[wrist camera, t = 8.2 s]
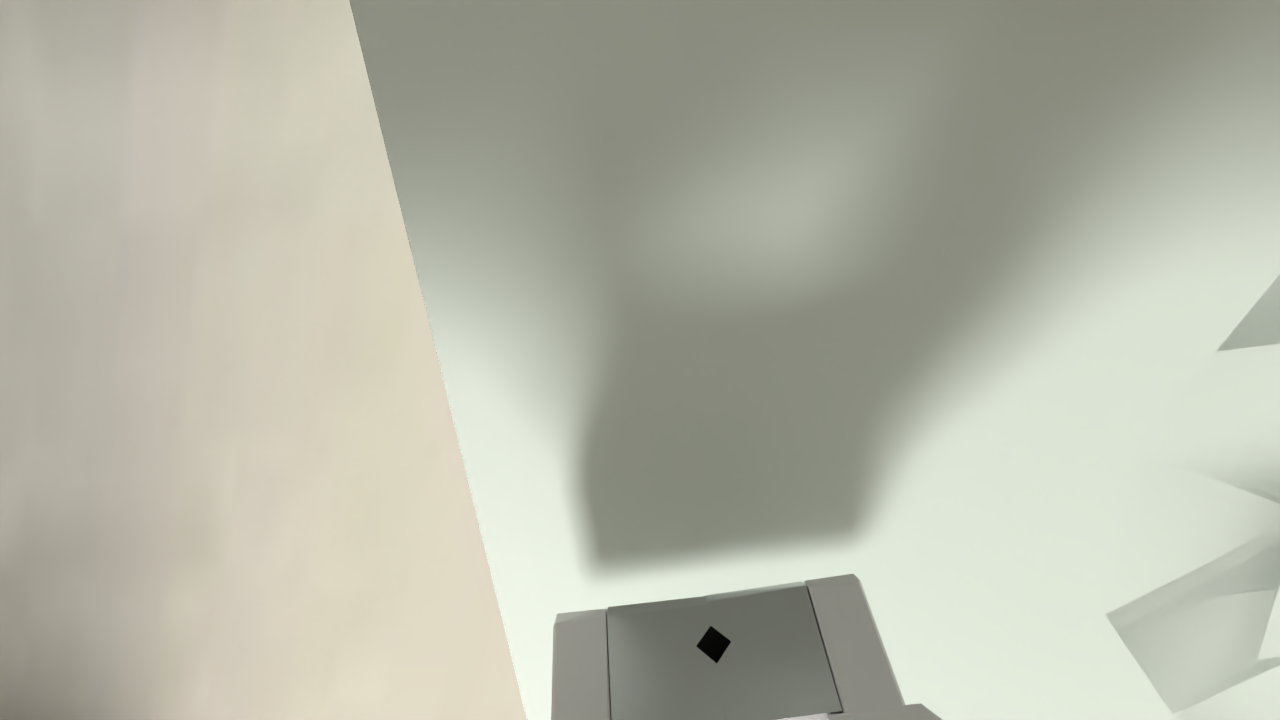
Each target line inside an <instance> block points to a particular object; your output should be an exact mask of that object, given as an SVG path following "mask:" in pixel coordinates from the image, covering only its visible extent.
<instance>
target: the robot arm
mask: <svg viewBox="0 0 1280 720" xmlns="http://www.w3.org/2000/svg"><path fill="white" fill-rule="evenodd" d="M551 720H943V719H941V718H940V717H939V716H937V715H936V714H935V713H933V712H932V711H931V710H930V709H928V708H927V707H926V706H924V705H923V704H922V703H919V704H909V705H905V702H904V699H903V697H902V694H901V691H900V688H899V686H898V683H897V680H896V677H895V675H894V672H893V669H892V666H891V664H890V661H889V658H888V655H887V653H886V650H885V647H884V644H883V642H882V639H881V636H880V633H879V631H878V628H877V625H876V622H875V620H874V617H873V614H872V611H871V609H870V606H869V603H868V600H867V598H866V595H865V592H864V589H863V587H862V584H861V581H860V580H859V578H858V577H857V576H856V575H855V574H854V573H853V574H847V575H840V576H833V577H826V578H820V579H813V580H806V581H804V583H803V582H802V581H800V582H794V583H787V584H780V585H773V586H766V587H759V588H752V589H746V590H739V591H732V592H725V593H718V594H711V595H705V596H702V597H693V598H684V599H675V600H666V601H657V602H648V603H639V604H630V605H621V606H612V607H608V609H607V608H605V609H595V610H586V611H577V612H567V613H558V614H557V616H556V619H555V623H554V626H553V663H552V705H551Z"/></svg>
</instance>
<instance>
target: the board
mask: <svg viewBox="0 0 1280 720" xmlns="http://www.w3.org/2000/svg"><path fill="white" fill-rule="evenodd" d="M350 5H351V9H352V13H353V17H354V21H355V25H356V29H357V33H358V37H359V41H360V45H361V49H362V53H363V57H364V61H365V65H366V69H367V74H368V78H369V82H370V86H371V90H372V94H373V98H374V102H375V106H376V110H377V114H378V118H379V122H380V126H381V130H382V134H383V138H384V142H385V147H386V151H387V155H388V159H389V163H390V167H391V171H392V175H393V179H394V183H395V187H396V191H397V195H398V199H399V203H400V207H401V211H402V216H403V220H404V224H405V228H406V232H407V236H408V240H409V244H410V248H411V252H412V256H413V260H414V264H415V268H416V272H417V276H418V280H419V284H420V289H421V293H422V297H423V301H424V305H425V309H426V313H427V317H428V321H429V325H430V329H431V333H432V337H433V341H434V345H435V349H436V353H437V358H438V362H439V366H440V370H441V374H442V378H443V382H444V386H445V390H446V394H447V398H448V402H449V406H450V410H451V414H452V418H453V422H454V426H455V431H456V435H457V439H458V443H459V447H460V451H461V455H462V459H463V463H464V467H465V471H466V475H467V479H468V483H469V487H470V491H471V495H472V500H473V504H474V508H475V512H476V516H477V520H478V524H479V528H480V532H481V536H482V540H483V544H484V548H485V552H486V556H487V560H488V564H489V568H490V573H491V577H492V581H493V585H494V589H495V593H496V597H497V601H498V605H499V609H500V613H501V617H502V621H503V625H504V629H505V633H506V637H507V642H508V646H509V650H510V654H511V658H512V662H513V666H514V670H515V674H516V678H517V682H518V686H519V690H520V694H521V698H522V702H523V706H524V710H525V715H526V719H527V720H551V705H552V663H553V626H554V623H555V619H556V616H557V614H558V613H567V612H577V611H586V610H595V609H605V608H607V609H608V607H612V606H621V605H630V604H639V603H648V602H657V601H666V600H675V599H684V598H693V597H702V596H705V595H711V594H718V593H725V592H732V591H739V590H746V589H752V588H759V587H766V586H773V585H780V584H787V583H794V582H800V581H802V582H803V583H804V581H806V580H813V579H820V578H826V577H833V576H840V575H847V574H853V573H854V574H855V575H856V576H857V577H858V578H859V580H860V581H861V584H862V587H863V589H864V592H865V595H866V598H867V600H868V603H869V606H870V609H871V611H872V614H873V617H874V620H875V622H876V625H877V628H878V631H879V633H880V636H881V639H882V642H883V644H884V647H885V650H886V653H887V655H888V658H889V661H890V664H891V666H892V669H893V672H894V675H895V677H896V680H897V683H898V686H899V688H900V691H901V694H902V697H903V699H904V702H905V705H909V704H919V703H922V704H923V705H924V706H926V707H927V708H928V709H930V710H931V711H932V712H933V713H935V714H936V715H937V716H939V717H940V718H941V719H943V720H1280V0H350Z"/></svg>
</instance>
